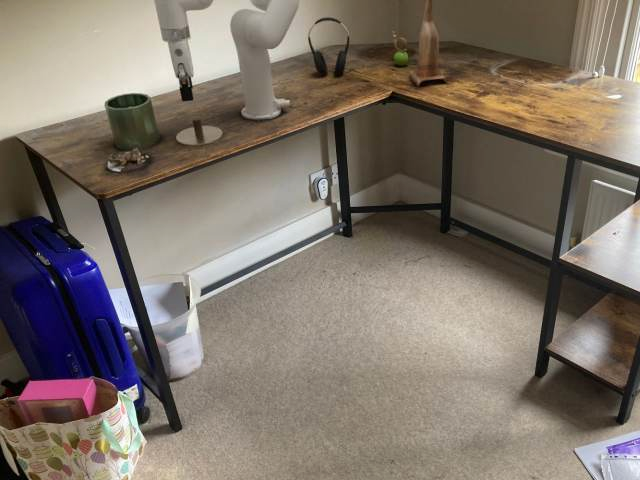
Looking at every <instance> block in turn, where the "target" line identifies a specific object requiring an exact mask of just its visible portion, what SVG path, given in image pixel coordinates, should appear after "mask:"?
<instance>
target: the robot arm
mask: <svg viewBox="0 0 640 480" xmlns="http://www.w3.org/2000/svg"><path fill="white" fill-rule="evenodd" d="M153 1H154V6H155V11H156V14H157V20H158V24H159V25H158V26H159V30H160V34H161V40H162V41H163V42H165V43H167V46H168V52H169V56H170V59H171V64H172V69H173V72H174V75H175V78H176V79H178V85H179V87H178V88H179V94H180V97H181V101H182V102H191V101H194V99H195V98H194V94H193V89H194V87H193V81H192V78H193V77H194V75H195V71H194V65H193V61H192V54H191V50H190V44H189V40H190V39H191V37H192V36H191V32H190V26H189V20H188V15H187V12H189V11H204V10H206V9H208V8H210V7H211V6H212V5H213V3H214V0H153ZM250 3H251V5H252V6H253V7H255V8H256V9H257V10H254V9H248V8H244V9H243V8H242V9H238V10H237V11H235V12H234V13H233V15H232V16H231V19H230V21H229V23H230V24H229V29H230V33H231V36H232V40H233V43H234V46H235V49H236V54H237V59H238V65H239V73H240V80H241V86H242V92H243V99H244V106H245V107H243V108H241V111H240V112H241V116H242V117H243V118H245V119H248V120H267V119H269V120H270V119H271V120H272V119H274V118H277V117H278V116H279V115H280V114H281V113H282V109H281V108H282V107H284V108H285V107H291V102H290V99H285V98H276V96H275V92H274V91H275V90H274V83H273V82H274V81H273V74H272V67H271V59H270V58H271V57H270V53H269V50H274V49H276V48H277V47H279V46H280V45H281V43H282V42H283V40H284V38H285V36H286V34H287V33H288V30H289V29H290V27H291V25H292V23H293V21H294V18H295V16H296V14H297V12H298V9H299V6H300V0H250ZM258 10H261V11H262V12H261V11H258Z"/></svg>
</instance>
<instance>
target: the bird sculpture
mask: <svg viewBox="0 0 640 480" xmlns="http://www.w3.org/2000/svg"><path fill="white" fill-rule="evenodd" d="M425 1H426V2H425V6H424V11H423V12H424V13H423V19H422V24H421V28H420V34H419V41H418V62H417V63H418V64H417V68H416V69H410V70H409V72H408V77H409V78H410V79H411V80H412V81H413V83H415V85H416V86H417V87H420V84H421V83H423V82H424V81H430V80H443V81H444V82H445V83H446V84H449V83H448V82H449V80H448V78H447V77H446V76H445V75H444V74H443V73H442V72H441V71H440V70H439V56H440V55H439V54H440V53H439V52H440V37H439V33H438V29H437V28H436V25H435V23H434V16H433V0H425Z"/></svg>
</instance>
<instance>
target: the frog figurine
mask: <svg viewBox="0 0 640 480" xmlns="http://www.w3.org/2000/svg"><path fill="white" fill-rule="evenodd" d="M141 154H142V153H141V152H140V151H139V148H135V149H131V151H126V152H125V151H119V152H117V153H115V154H112V153H110V154H109V156H108V157H107V161H108V162H107V169H108V170H110V171H113V172H117V173H119V172H121V171H122V169H124V168H126V166H125V165H126V164H130V163H133V162H136V164H138V165H140V164H142V163H144V162H145V161H146V160H145V159H144V156H141ZM145 158H147V159H149V155H148V154H145ZM143 159H144V160H143Z"/></svg>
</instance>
